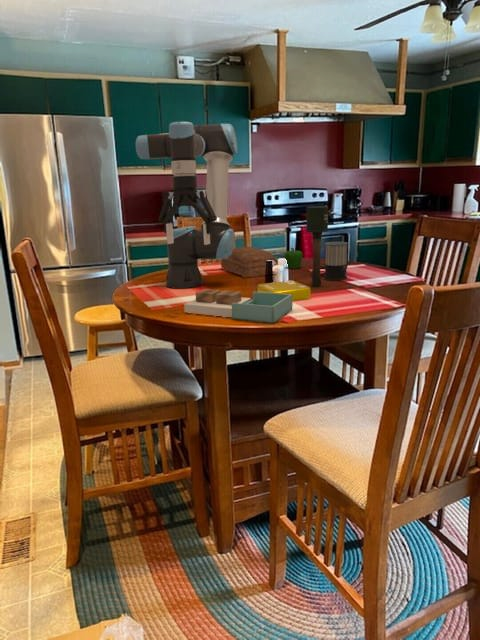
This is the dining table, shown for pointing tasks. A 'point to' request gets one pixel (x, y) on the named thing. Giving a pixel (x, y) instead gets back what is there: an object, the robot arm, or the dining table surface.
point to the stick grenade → (317, 236)
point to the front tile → (228, 297)
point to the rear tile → (207, 295)
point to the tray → (263, 307)
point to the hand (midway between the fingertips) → (188, 243)
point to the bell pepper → (293, 258)
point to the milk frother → (335, 261)
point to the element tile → (287, 289)
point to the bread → (247, 261)
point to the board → (211, 308)
